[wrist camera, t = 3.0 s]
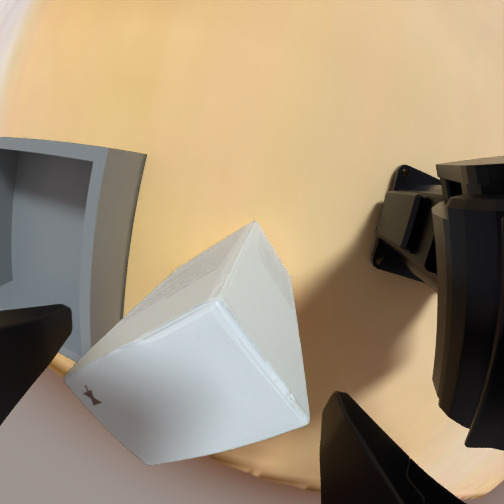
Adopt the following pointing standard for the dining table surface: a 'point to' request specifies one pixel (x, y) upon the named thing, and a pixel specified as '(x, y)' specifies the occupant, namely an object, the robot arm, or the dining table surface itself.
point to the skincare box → (202, 358)
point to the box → (67, 231)
